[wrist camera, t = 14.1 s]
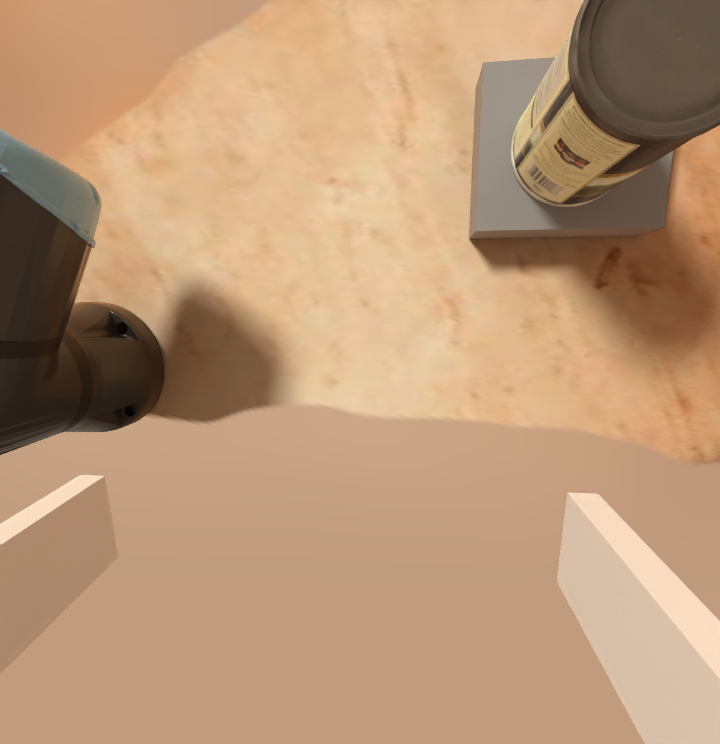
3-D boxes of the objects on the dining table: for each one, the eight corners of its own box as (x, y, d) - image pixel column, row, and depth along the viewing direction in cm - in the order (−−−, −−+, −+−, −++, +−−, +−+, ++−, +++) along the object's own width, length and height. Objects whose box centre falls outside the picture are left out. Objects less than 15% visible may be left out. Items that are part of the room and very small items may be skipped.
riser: (469, 238, 40) (475, 230, 36) (475, 88, 38) (483, 62, 34) (638, 235, 38) (664, 227, 34) (655, 76, 36) (685, 48, 32)
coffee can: (652, 91, 33) (829, -69, 19) (611, 218, 35) (744, 156, 21) (528, 70, 34) (611, -98, 20) (494, 195, 36) (548, 120, 22)
